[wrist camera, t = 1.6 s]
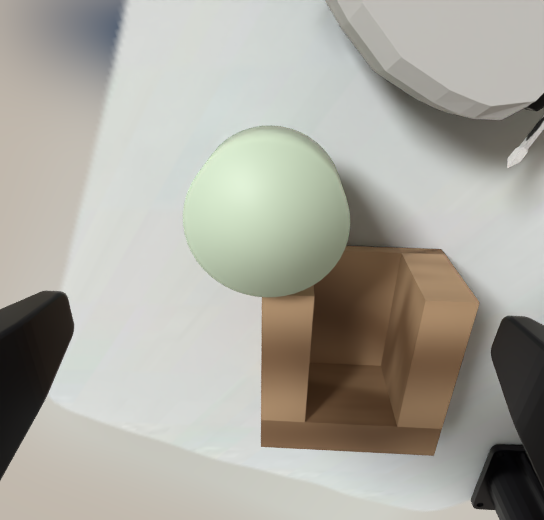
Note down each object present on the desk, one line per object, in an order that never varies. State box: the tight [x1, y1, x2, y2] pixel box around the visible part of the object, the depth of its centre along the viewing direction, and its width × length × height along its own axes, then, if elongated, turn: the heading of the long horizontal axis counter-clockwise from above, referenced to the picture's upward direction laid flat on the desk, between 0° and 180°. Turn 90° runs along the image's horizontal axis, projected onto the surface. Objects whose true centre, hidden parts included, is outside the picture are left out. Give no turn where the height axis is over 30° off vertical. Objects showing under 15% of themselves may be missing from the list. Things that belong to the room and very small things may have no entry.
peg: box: [183, 126, 350, 297], centre depth 18 cm, size 6×6×6 cm
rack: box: [261, 246, 479, 456], centre depth 22 cm, size 10×9×5 cm
